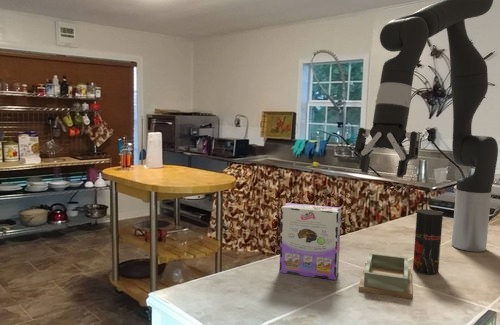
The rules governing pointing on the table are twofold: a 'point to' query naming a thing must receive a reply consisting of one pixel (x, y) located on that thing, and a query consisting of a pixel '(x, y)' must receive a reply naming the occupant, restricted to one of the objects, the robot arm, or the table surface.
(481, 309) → the table surface
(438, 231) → the deodorant
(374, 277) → the holder
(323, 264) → the candy box
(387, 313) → the table surface
